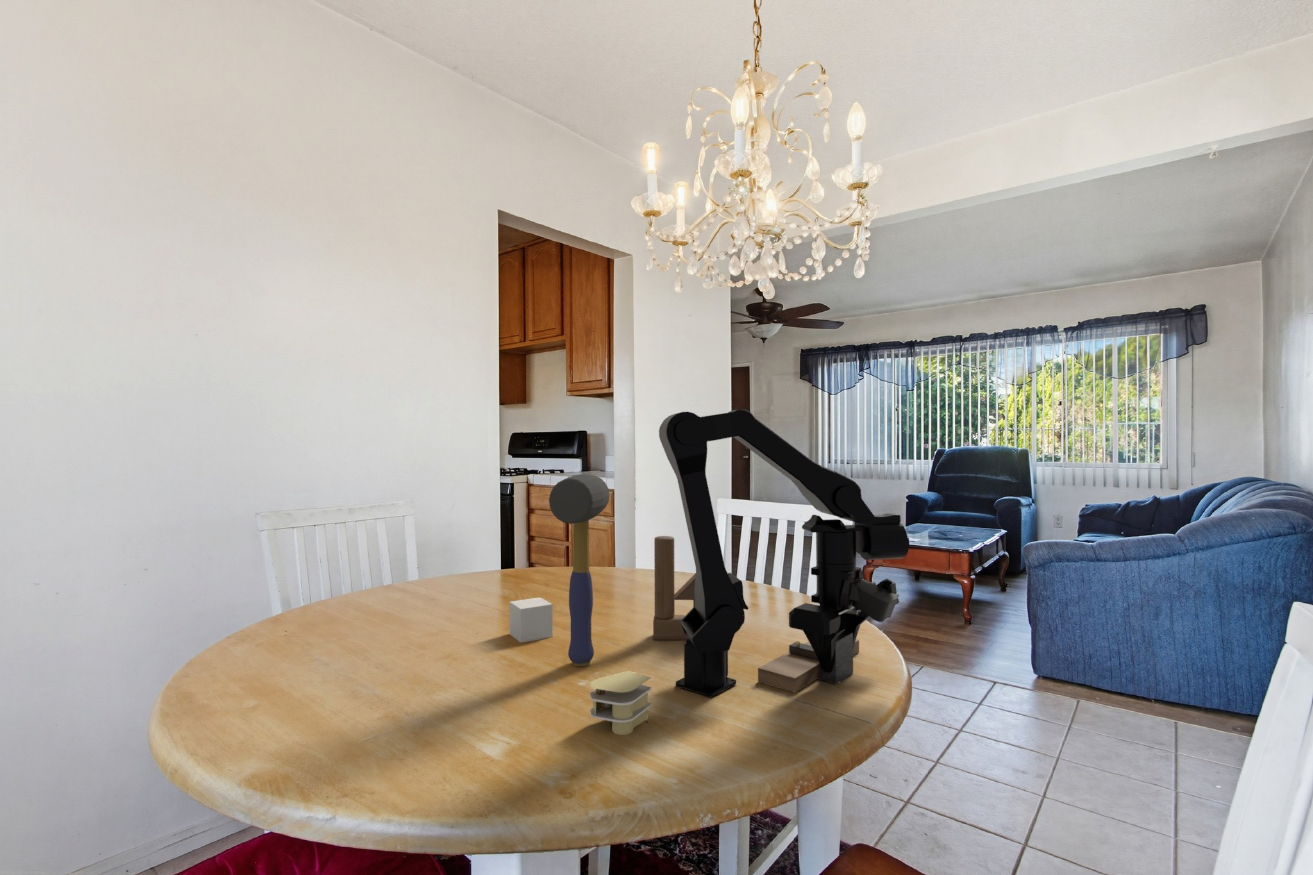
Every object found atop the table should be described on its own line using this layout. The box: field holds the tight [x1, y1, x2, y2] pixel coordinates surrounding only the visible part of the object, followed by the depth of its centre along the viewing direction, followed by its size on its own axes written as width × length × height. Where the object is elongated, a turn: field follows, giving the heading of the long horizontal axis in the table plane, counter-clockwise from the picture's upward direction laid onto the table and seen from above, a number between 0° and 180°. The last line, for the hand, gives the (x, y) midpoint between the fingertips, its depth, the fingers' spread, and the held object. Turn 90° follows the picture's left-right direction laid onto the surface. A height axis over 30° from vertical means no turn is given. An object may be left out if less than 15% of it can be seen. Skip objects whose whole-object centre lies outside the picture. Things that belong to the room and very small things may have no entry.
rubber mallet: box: [548, 473, 611, 667], centre depth 96 cm, size 12×8×30 cm, turn 171°
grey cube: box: [508, 597, 554, 643], centre depth 111 cm, size 6×6×6 cm
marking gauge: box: [788, 631, 854, 685], centre depth 93 cm, size 6×9×6 cm
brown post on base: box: [652, 535, 696, 641], centre depth 110 cm, size 4×11×18 cm, turn 88°
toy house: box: [589, 670, 652, 736], centre depth 76 cm, size 10×9×6 cm
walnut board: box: [757, 638, 860, 693], centre depth 95 cm, size 22×6×2 cm, turn 139°
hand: (837, 665), depth 91 cm, fingers closed on marking gauge, 6 cm apart
